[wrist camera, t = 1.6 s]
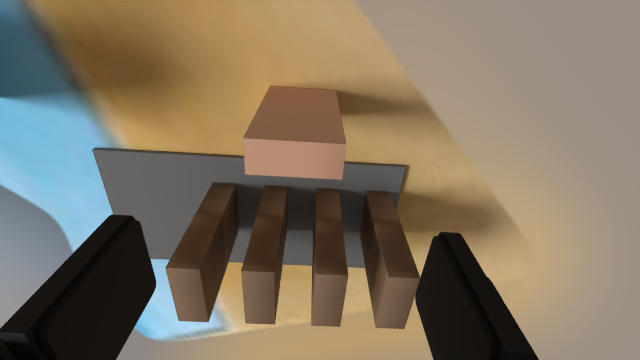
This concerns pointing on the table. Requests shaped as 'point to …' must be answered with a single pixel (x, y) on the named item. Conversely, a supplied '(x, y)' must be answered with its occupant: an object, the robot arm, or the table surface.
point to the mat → (203, 169)
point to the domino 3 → (296, 135)
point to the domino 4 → (328, 260)
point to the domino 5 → (387, 261)
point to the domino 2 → (265, 257)
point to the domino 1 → (204, 254)
